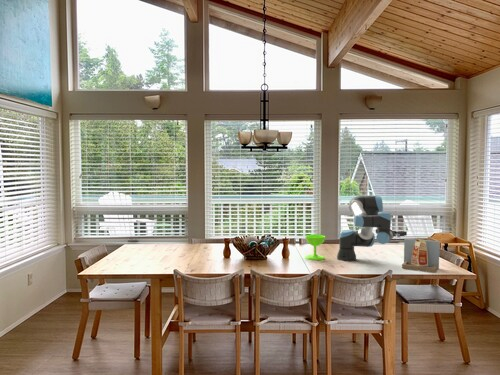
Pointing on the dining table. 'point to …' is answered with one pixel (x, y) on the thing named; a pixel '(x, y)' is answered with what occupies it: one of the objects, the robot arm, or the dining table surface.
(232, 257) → the dining table surface
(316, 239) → the wineglass
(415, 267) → the wall board
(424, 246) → the milk carton
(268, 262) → the dining table surface
